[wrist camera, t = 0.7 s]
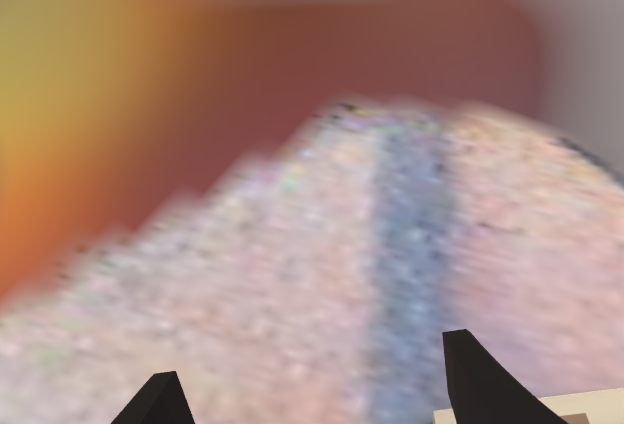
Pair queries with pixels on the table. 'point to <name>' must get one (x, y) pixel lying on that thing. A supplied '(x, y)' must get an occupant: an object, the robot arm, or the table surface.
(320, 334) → the table surface
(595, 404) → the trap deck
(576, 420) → the walnut block
